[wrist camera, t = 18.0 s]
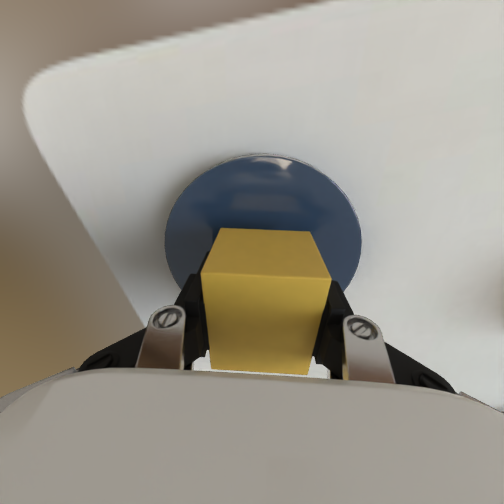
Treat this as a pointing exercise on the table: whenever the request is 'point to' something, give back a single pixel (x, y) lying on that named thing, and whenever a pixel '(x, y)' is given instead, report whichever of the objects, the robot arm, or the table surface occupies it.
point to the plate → (263, 212)
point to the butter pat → (263, 300)
